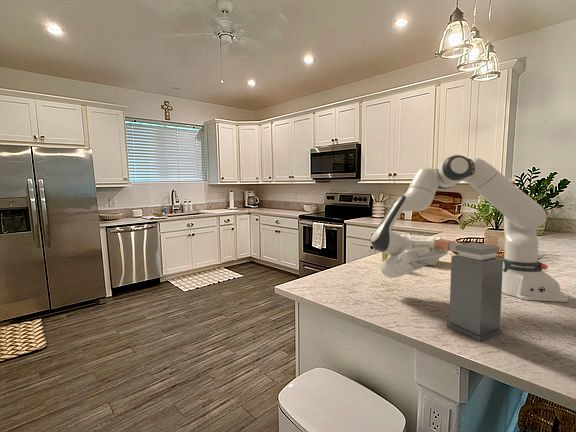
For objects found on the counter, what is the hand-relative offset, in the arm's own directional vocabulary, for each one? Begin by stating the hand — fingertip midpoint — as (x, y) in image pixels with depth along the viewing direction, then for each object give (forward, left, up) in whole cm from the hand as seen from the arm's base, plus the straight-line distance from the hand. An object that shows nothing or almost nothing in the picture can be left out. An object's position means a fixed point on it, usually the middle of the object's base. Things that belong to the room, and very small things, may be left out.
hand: (439, 247), depth 107 cm
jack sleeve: (-10, +9, -25) cm, 28 cm away
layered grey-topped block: (-6, +6, -21) cm, 22 cm away
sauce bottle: (+23, -55, -25) cm, 65 cm away
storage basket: (+8, -75, -25) cm, 80 cm away
